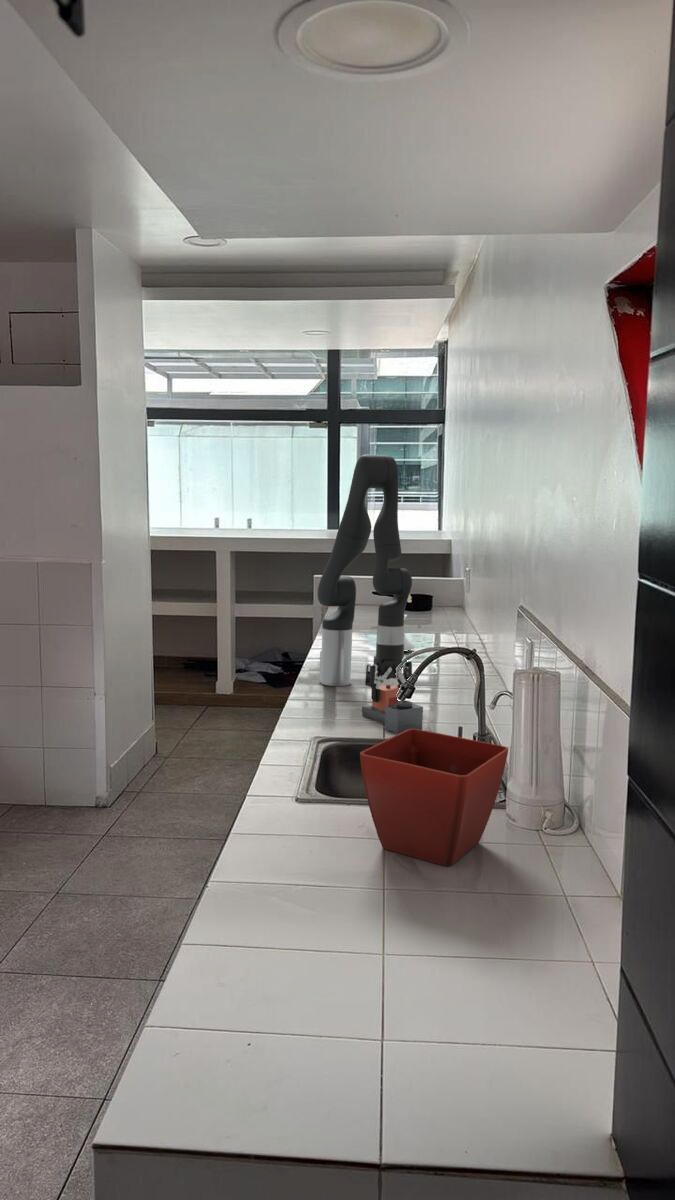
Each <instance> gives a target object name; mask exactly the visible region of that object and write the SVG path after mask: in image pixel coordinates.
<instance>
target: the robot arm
mask: <svg viewBox="0 0 675 1200" xmlns="http://www.w3.org/2000/svg"><path fill="white" fill-rule="evenodd" d="M398 470H399V469H398V465H397V462H396V459H395V458H394V457H393V456H391V455H383V454H372V453H371V454H370V453H369V454H368V453H367V454H362V455H360V456H359V457H358V459H357V461H356V463H355V466H354V469H353V474H352V477H351V479H352V480H351V484H350V488H349V494H348V498H347V502H346V505H345V507H344V512H343V515H342V517H341V521H340V523H339V525H338V530H337V532H336V537H335V541H334V543H333V546H332V551H331V552H330V556H329V559H328V561H327V564H326V565H325V568H324V571H323V573H322V576H321V577H320V580H319V582H318V587H317V601H318V603H319V604H320V605H321V606H322V607H323V606H324V607H337V609H336V610H335V612H333V613H332V614H329V615H328V616H326V617H324V618H323V619H322V621H321V622H322V626H321V629H322V630H321V650H320V652H319V680H318V681H319V682H320V684H321V685H325V686H330V687H332V686H333V687H345V686H349V685H351V680H352V679H351V675H352V673H351V672H352V654H353V653H352V649H353V647H352V646H353V623H354V620H355V609H356V601H357V586H356V582H355V580H354V578H353V577H352V576H350V575H342V574H343V572H344V571H345V570H347V568H348V567H349V566H350V565H351V564H352V563H353V562H354V561H355V560H357V558H358V557H360V556H361V555H362V554H363V552H364V551H365V549H366V547H367V545H368V541H369V539H370V536H371V533H373V542H374V543H373V544H374V545H373V546H374V551H375V560H374V561H375V562H374V570H373V575H372V586H373V589H374V591H376V593H377V594H380V595H382V596H383V595H393V597H392V598H391V600H390V601H386V602H383V603H381V604H380V605H379V606H378V614H377V630H376V648H375V656H376V658H377V663H376V665H373V664H370V663H367V664H366V670H365V682H364V684H365V686H367V687H370V689H371V697H370V698H371V700H373V701H374V702H379V695H380V689H378V688H379V687H380V685H381V684H382V683H383V682H384V681H385V679H390V678H393V679H394V678H395V679H396V675H395V673H396V669H397V667H398V665H399V664H400V663H401V662H403V659H404V657H405V656H404V653H405V652H404V636H405V626H404V625H405V620H404V614H405V610H406V606H407V603H408V602H407V600H408V596H409V594H410V595H411V590H412V587H413V578H412V574H411V573H410V571H409V570H408V569H407V568H404V567H400V568H399V567H394V568H393V567H391V568H389V563H390V562H394V561H397V560H399V559H400V558H401V557H402V547H401V538H400V533H399V532H400V530H399V524H398V523H399V520H398V518H399V516H398V514H399V513H398V510H399V472H398ZM369 489H379V490H380V489H381V490H382V493H383V502H382V507H381V509H380V511H379V514H378V516H377V518H376V520H375V522H374V526H373V530H372V522H371V518H370V516H369V513H368V510H367V506H366V502H365V500H366V495H367V492H368V490H369ZM372 531H373V532H372ZM376 669H377V673H376V674H375V672H376ZM401 669H402V672H401ZM401 669H400V670H399V672H398V675H397V678H398V683H399V685H398V687H399V688H400V685H401V684H403V683H405V682H406V681H407V679H408V678H409V677H410V676H411V675H412V676H413V663H412V661H410V660H407V662H406V663H405V664H404V665H403V666H402V667H401ZM380 676H381V677H380Z"/></svg>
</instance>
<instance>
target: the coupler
mask: <svg viewBox="0 0 675 1200" xmlns="http://www.w3.org/2000/svg"><path fill="white" fill-rule="evenodd" d="M361 708H362V709H361V715H362V716H363V717H366V718H368V719H371V720H373V721H376V722H379V723H381V724H383V725H384V730H385V731H388V732H390V733H393V734H395V735H397V734H399V733H401V732H403V731H406V730H408V729H419V730H423V720H424V719H423V718H424V717H423V715H424V713H423V712H424V706H422V705H419V704H416V703H413V702H412V701H410V700H403V701H397V703H396V705H389V706H386V708H385V711H383V710H380V709H377V708H375V707H372V705H370V704H367V705H362V706H361Z"/></svg>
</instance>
